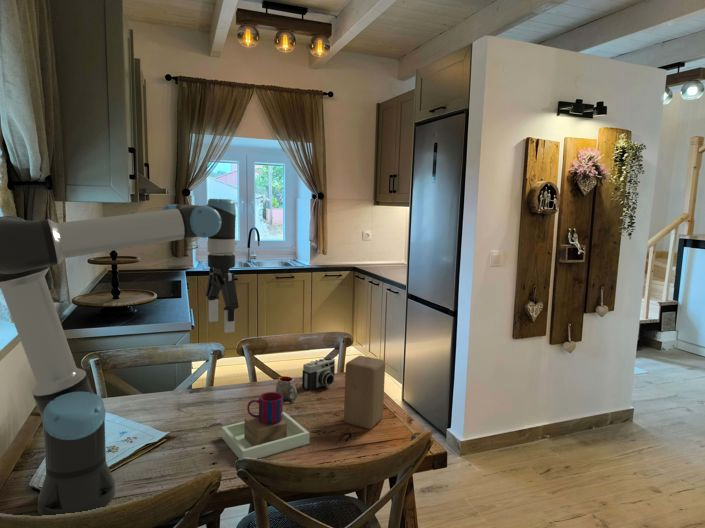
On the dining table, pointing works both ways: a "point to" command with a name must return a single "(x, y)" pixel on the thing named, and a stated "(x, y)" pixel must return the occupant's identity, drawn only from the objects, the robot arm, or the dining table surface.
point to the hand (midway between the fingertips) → (221, 326)
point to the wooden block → (364, 391)
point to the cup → (269, 408)
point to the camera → (318, 373)
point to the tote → (244, 449)
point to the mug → (286, 388)
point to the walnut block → (263, 431)
